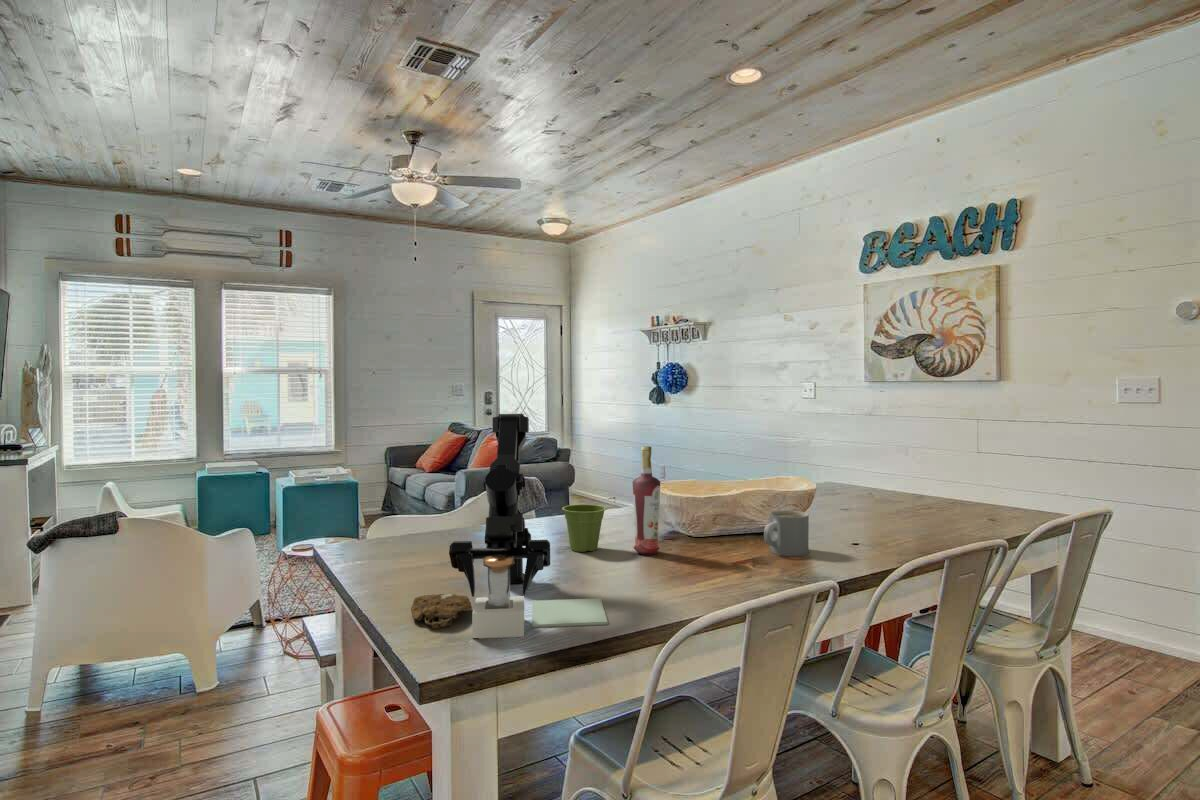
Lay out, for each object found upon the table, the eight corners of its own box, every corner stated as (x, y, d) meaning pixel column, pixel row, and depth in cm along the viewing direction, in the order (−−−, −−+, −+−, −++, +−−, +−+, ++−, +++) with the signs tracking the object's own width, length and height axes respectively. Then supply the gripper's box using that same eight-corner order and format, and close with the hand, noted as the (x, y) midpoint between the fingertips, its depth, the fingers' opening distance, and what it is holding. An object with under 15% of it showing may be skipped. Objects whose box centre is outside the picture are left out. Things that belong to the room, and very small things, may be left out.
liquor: (650, 557, 177) (650, 448, 176) (627, 553, 182) (626, 447, 181) (665, 552, 183) (665, 446, 182) (642, 548, 187) (642, 445, 187)
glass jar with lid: (485, 623, 130) (484, 555, 129) (515, 622, 130) (514, 554, 130) (482, 634, 124) (482, 562, 124) (514, 633, 125) (513, 561, 124)
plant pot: (606, 554, 181) (605, 511, 180) (560, 554, 181) (560, 512, 181) (606, 544, 193) (606, 503, 192) (564, 544, 193) (563, 503, 192)
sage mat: (532, 603, 142) (532, 600, 142) (600, 600, 143) (600, 598, 143) (532, 627, 128) (532, 624, 128) (607, 624, 129) (607, 621, 129)
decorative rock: (480, 628, 129) (462, 607, 143) (481, 606, 129) (463, 587, 143) (417, 634, 124) (405, 612, 138) (418, 611, 125) (406, 591, 138)
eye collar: (476, 621, 131) (476, 597, 131) (524, 619, 132) (524, 595, 132) (472, 638, 122) (472, 613, 122) (523, 636, 123) (523, 611, 123)
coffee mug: (793, 545, 190) (793, 509, 190) (816, 554, 180) (816, 515, 180) (751, 549, 185) (751, 512, 185) (772, 558, 176) (772, 519, 176)
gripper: (449, 498, 130) (440, 573, 119) (549, 497, 131) (549, 571, 120) (456, 531, 138) (448, 604, 127) (550, 529, 139) (550, 601, 128)
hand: (498, 595), depth 126 cm, fingers open, 9 cm apart
